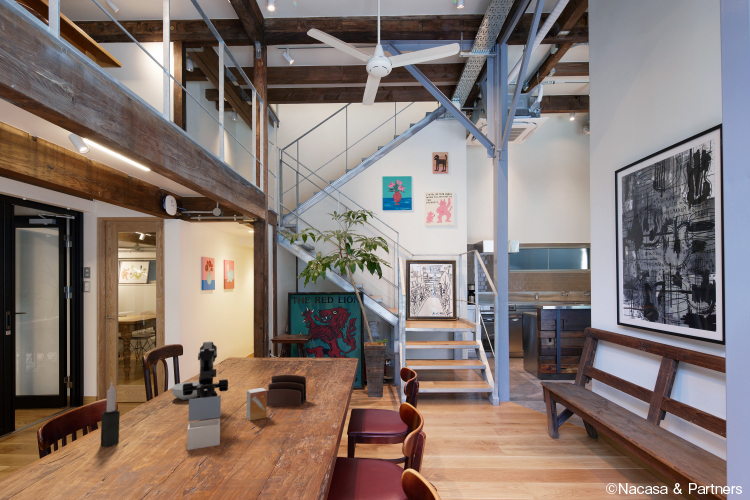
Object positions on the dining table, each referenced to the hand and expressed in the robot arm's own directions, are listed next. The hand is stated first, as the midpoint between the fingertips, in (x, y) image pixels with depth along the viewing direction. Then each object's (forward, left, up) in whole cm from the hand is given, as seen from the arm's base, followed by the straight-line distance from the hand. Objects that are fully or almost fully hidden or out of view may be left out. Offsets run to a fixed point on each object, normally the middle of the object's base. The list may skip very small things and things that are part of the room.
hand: (205, 404), depth 170 cm
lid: (+3, -3, 0) cm, 5 cm away
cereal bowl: (-51, +36, -13) cm, 64 cm away
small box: (+7, +25, -13) cm, 29 cm away
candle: (-29, -22, -13) cm, 39 cm away
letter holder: (+7, +48, -13) cm, 51 cm away
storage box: (+7, -7, -13) cm, 16 cm away
